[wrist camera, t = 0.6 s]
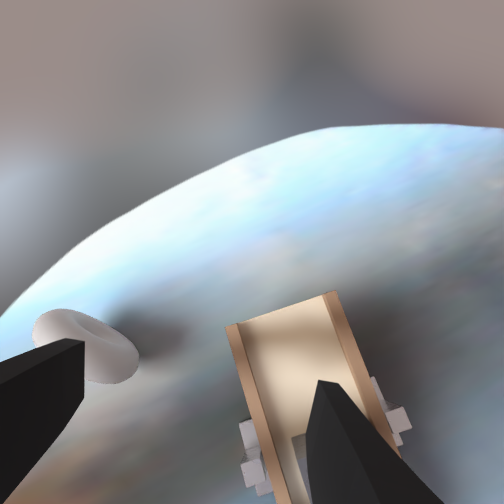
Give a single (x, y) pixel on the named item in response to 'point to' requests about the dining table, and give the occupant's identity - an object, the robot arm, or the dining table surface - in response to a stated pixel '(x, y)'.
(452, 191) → the dining table surface
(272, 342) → the beam
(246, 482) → the pivot stand
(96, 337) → the donut
